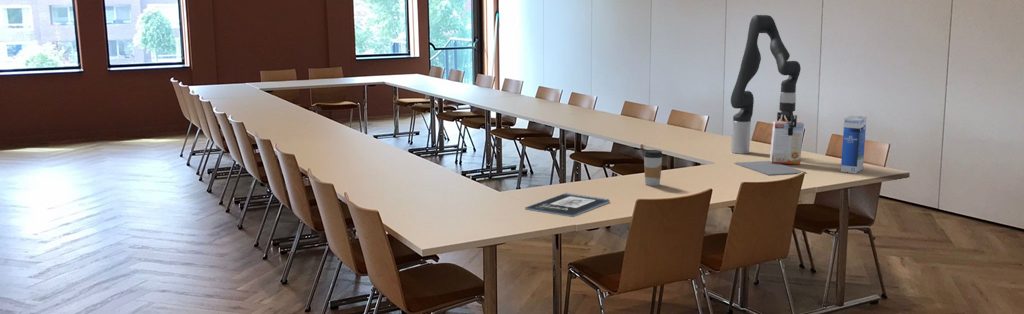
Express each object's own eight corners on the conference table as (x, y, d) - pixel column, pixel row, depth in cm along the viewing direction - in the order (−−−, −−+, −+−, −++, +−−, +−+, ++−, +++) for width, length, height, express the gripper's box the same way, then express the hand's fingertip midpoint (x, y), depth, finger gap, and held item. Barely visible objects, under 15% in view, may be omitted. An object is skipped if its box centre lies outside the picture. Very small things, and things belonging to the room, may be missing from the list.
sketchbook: (525, 210, 339) (525, 205, 338) (565, 197, 363) (565, 192, 363) (572, 218, 327) (572, 212, 326) (610, 203, 351) (610, 198, 351)
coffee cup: (657, 187, 379) (658, 153, 377) (639, 185, 384) (640, 151, 381) (664, 184, 386) (665, 150, 384) (647, 182, 390) (648, 149, 388)
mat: (734, 163, 436) (734, 162, 436) (769, 161, 441) (769, 160, 441) (768, 175, 405) (768, 174, 405) (806, 173, 410) (806, 172, 410)
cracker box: (797, 162, 437) (801, 121, 434) (800, 165, 431) (804, 123, 428) (768, 161, 439) (773, 120, 435) (771, 163, 433) (775, 121, 429)
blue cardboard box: (847, 167, 424) (851, 115, 420) (863, 169, 420) (867, 116, 415) (840, 172, 414) (843, 118, 409) (856, 173, 409) (860, 119, 405)
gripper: (773, 100, 436) (771, 132, 438) (789, 103, 422) (787, 136, 425) (786, 99, 438) (784, 132, 440) (802, 102, 424) (800, 136, 427)
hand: (785, 134), depth 433 cm, fingers closed on cracker box, 7 cm apart
